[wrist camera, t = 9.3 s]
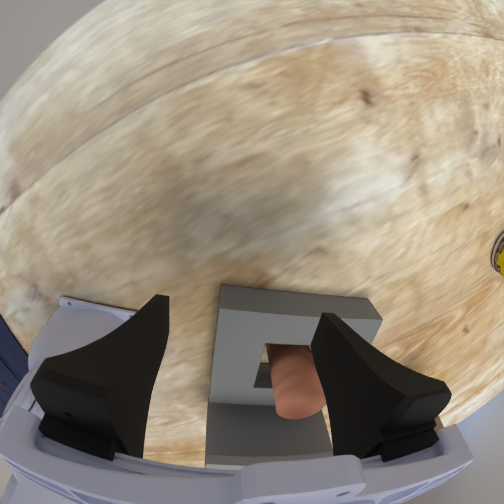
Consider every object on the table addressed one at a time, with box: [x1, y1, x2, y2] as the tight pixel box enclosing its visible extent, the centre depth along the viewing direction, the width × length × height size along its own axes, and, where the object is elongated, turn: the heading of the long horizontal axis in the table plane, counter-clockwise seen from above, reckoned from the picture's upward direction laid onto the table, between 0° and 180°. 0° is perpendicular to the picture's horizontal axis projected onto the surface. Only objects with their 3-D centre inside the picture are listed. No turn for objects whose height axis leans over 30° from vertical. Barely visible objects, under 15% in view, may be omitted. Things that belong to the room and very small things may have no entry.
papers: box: [0, 317, 29, 418], centre depth 28 cm, size 24×30×4 cm
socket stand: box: [205, 285, 383, 470], centre depth 22 cm, size 14×17×11 cm
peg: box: [266, 343, 326, 419], centre depth 23 cm, size 4×4×8 cm
